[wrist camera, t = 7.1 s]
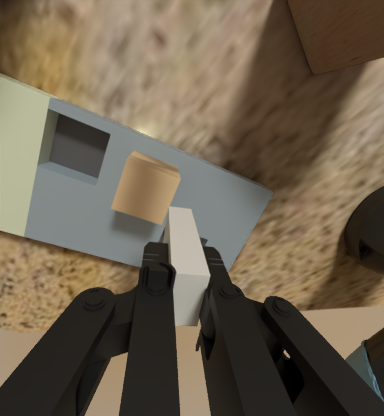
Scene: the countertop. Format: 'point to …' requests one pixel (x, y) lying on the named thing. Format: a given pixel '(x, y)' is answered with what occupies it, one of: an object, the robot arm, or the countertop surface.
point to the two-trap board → (105, 181)
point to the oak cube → (146, 187)
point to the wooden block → (339, 32)
